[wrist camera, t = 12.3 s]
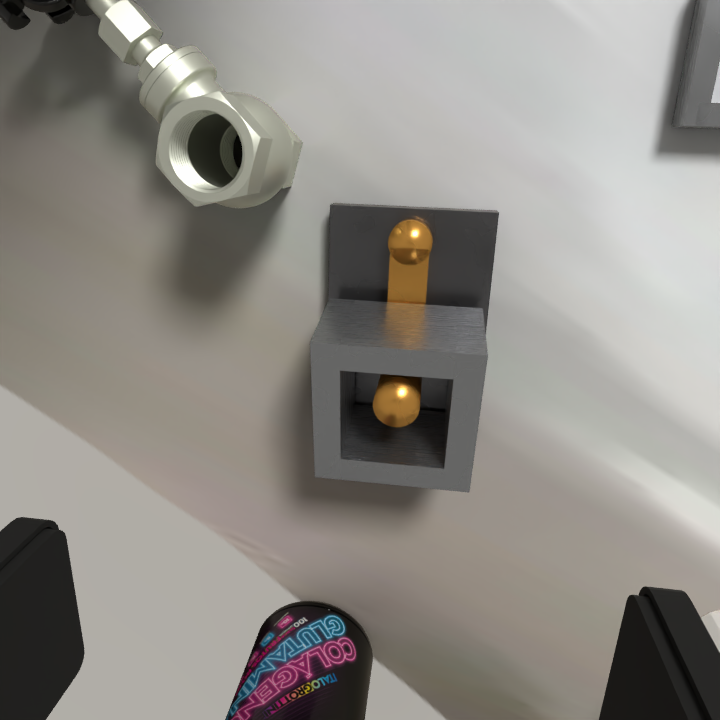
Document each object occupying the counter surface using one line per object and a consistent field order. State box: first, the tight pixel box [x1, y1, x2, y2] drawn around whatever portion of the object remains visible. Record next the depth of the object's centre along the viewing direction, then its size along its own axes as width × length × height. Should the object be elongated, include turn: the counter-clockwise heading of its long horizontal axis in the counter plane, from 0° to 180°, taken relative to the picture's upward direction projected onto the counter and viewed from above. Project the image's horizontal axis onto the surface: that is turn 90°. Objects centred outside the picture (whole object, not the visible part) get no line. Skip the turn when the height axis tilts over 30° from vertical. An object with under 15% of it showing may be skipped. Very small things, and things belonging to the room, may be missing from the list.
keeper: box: [329, 203, 499, 427], centre depth 25 cm, size 11×7×6 cm, turn 178°
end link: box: [310, 298, 488, 492], centre depth 25 cm, size 6×6×4 cm
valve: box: [0, 0, 303, 208], centre depth 22 cm, size 7×7×12 cm
